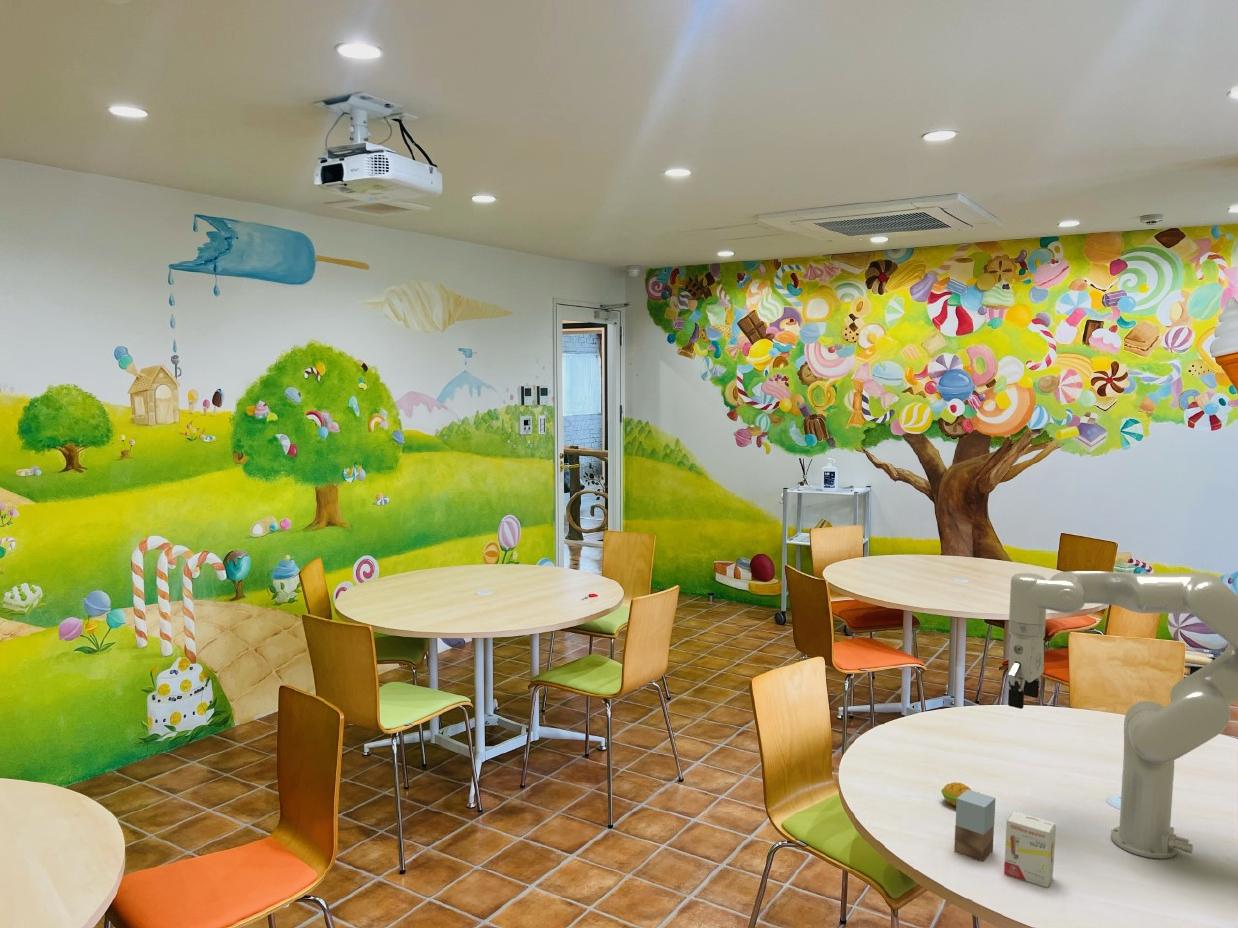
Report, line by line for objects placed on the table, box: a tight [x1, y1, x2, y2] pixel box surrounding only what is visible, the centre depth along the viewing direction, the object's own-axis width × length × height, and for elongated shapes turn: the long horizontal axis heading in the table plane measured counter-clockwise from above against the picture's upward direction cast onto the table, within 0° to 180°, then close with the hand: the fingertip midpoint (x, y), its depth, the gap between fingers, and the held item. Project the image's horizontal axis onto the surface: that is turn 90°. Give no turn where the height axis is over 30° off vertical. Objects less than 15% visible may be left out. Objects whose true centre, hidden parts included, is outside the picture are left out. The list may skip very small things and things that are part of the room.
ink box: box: [1003, 811, 1057, 888], centre depth 182 cm, size 9×5×12 cm, turn 52°
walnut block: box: [953, 824, 995, 863], centre depth 192 cm, size 6×6×6 cm
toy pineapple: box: [940, 781, 972, 807], centre depth 213 cm, size 7×10×5 cm
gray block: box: [955, 789, 996, 835], centre depth 192 cm, size 6×6×6 cm
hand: (1023, 701), depth 204 cm, fingers open, 9 cm apart
